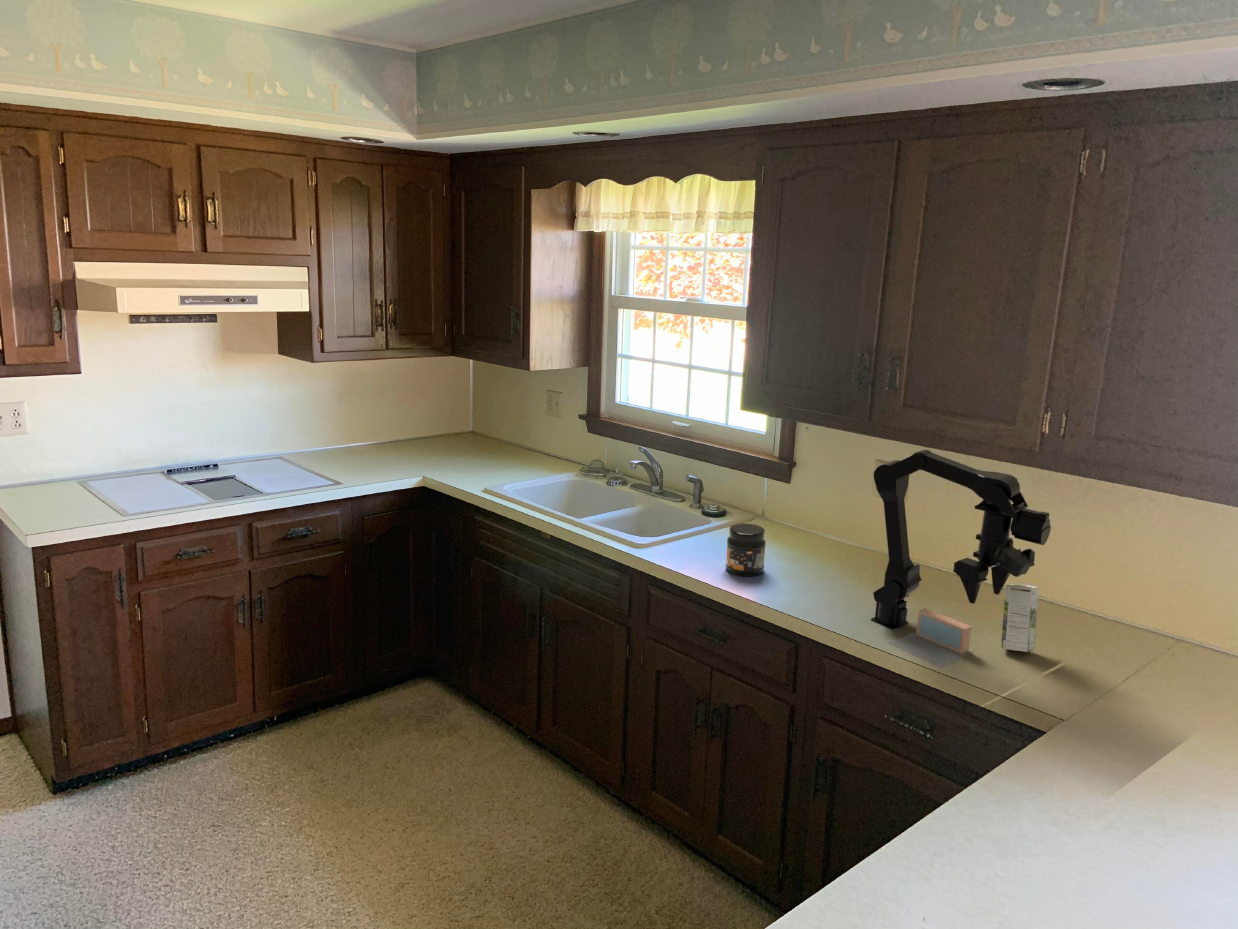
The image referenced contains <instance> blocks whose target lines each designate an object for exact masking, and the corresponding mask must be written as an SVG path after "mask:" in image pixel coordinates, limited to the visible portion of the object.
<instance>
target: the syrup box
mask: <svg viewBox="0 0 1238 929" xmlns="http://www.w3.org/2000/svg"><path fill="white" fill-rule="evenodd" d="M1004 587H1005V590H1004V599H1003V600H1004V604H1003V615H1002V629H1001V642H1000V648H1001V649H1003V650H1010V651H1017V652H1019V651H1020V652H1024V653H1025V652H1026V653H1029V652H1032V651H1034V650H1035V643H1036V642H1035V641H1036V628H1037V615H1038V602H1039V601H1038V597H1039V587H1038V586H1034V585H1029V584H1021V583H1016V584H1015V583H1014V584H1013V583H1012V584H1010V583H1009V584H1005V586H1004Z"/></svg>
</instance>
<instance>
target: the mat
mask: <svg viewBox="0 0 1238 929" xmlns="http://www.w3.org/2000/svg"><path fill="white" fill-rule="evenodd" d="M887 643H888V644H889V645H891V646H893V647H896V648H897V649H899V650H900V649H901V650H902V651H905V652H907V653H909V654H911V655H913V656H916V657H918V658H920V659H922V660H924V661H927V662H928V663H931V664H933V665H936V666H937V667H940V668H942V667H945V666H947V665H949V664H952V663H954V662H956V661H958V660H960V659H963V658H964V657H968V656H969V655H971V654H973V652H972V651H970V650H968V651H967V652H965V653H963V654H961V653H958V652H956V651H954V650H951V649H949V648H947V647H944V646H942V645H940V644H937V643H935V642H933V641H930V640H928V639H926V638H923V637H921V636H919V635H916V630H915V631H913V632H911V633H908V634H906V635H903V636H901V637H898V638H896V639H893V640H890V641H888V642H887Z"/></svg>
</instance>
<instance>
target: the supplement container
mask: <svg viewBox="0 0 1238 929" xmlns="http://www.w3.org/2000/svg"><path fill="white" fill-rule="evenodd" d="M728 530H729V532H728V534H729V536H728V537H727V538H726V543H727V545H726V556H725V558H726V560H725V567H726V569H727V571H728V572H730V573H732V574H733V575H737V576H743V577H752V576H757V575H760V574H761V573H762V572H764V569H765V559H766V558H765V555H766V546H767V540H766V539H765V536H766V535H765V534H766V530H765V528H763V527H762V526H761V525H758V524H754V523H742V522H741V523H735V524H732V525H730V526H729V529H728Z"/></svg>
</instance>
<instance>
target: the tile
mask: <svg viewBox="0 0 1238 929" xmlns="http://www.w3.org/2000/svg"><path fill="white" fill-rule="evenodd" d="M917 614H918V616H917V622H916V628H915V631H916V635H919V636H921V637H923V638H926V639H928V640H930V641H933V642H935V643H937V644H940V645H942V646H944V647H947V648H949V649H951V650H954V651H956V652H958V653H961V654H963V653H965V652H967V651H970V650H969V649H970V641H971V634H972V626H971V625H969V624H967V623H963V622H961V621H958V620H956V619H954V618H951V617H949V616H946V615H943V614H941V613H939V612H937V611H934V610H931V609H929V608H927V607H925V608H922V609H919V610H918V613H917Z"/></svg>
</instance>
